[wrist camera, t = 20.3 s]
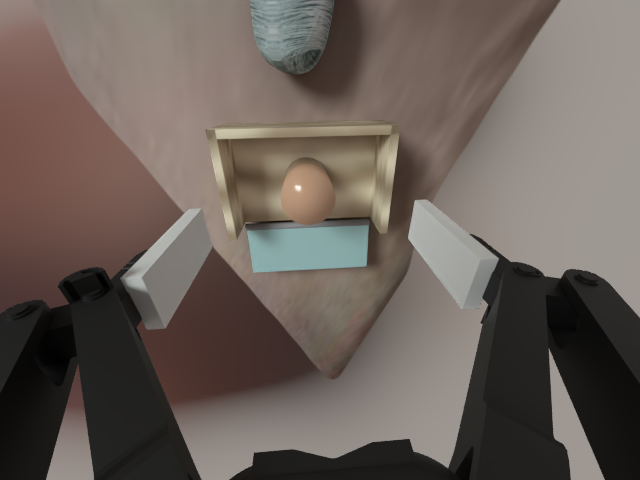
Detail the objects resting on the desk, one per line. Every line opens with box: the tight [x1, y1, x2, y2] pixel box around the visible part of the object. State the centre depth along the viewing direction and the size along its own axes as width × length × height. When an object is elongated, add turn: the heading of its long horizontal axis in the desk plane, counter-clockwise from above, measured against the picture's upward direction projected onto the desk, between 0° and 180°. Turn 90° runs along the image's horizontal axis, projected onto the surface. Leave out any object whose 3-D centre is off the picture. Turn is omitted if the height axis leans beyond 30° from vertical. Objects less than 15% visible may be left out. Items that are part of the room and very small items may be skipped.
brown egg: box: [281, 157, 336, 225], centre depth 33 cm, size 6×6×9 cm
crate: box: [206, 120, 400, 240], centre depth 36 cm, size 14×22×9 cm, turn 91°
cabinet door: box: [245, 219, 370, 272], centre depth 42 cm, size 1×20×9 cm
